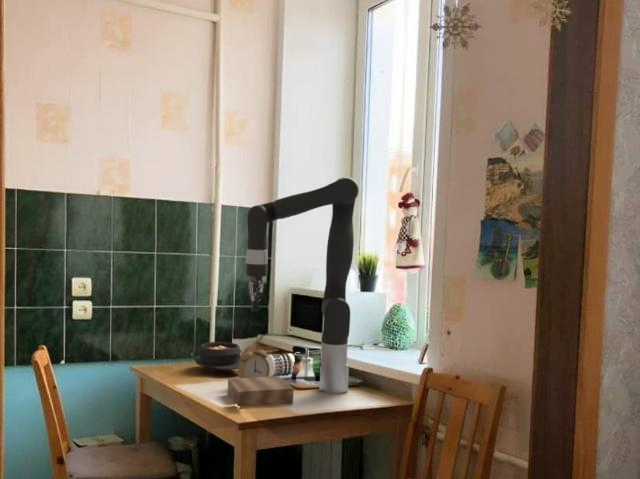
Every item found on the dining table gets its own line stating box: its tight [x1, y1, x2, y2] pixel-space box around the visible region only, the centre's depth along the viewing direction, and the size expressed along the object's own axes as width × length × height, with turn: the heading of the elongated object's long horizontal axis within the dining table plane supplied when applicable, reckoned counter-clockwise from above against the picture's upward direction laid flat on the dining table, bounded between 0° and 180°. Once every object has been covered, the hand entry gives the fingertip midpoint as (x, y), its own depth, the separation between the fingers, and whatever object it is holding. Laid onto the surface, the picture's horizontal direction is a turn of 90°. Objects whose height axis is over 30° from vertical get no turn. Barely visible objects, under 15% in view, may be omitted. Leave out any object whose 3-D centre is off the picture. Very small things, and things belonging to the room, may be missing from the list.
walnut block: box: [227, 376, 295, 407], centre depth 223 cm, size 18×16×6 cm
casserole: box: [193, 341, 243, 371], centre depth 267 cm, size 25×19×8 cm
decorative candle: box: [265, 351, 300, 377], centre depth 259 cm, size 9×9×25 cm
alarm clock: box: [237, 343, 270, 378], centre depth 240 cm, size 11×5×15 cm, turn 126°
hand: (255, 311), depth 239 cm, fingers closed
